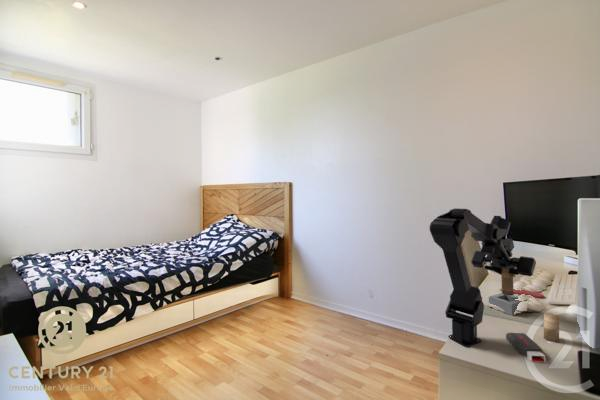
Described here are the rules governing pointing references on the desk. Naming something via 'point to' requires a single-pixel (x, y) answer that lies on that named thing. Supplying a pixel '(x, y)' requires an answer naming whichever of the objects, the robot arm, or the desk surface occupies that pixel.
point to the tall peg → (507, 281)
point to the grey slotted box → (505, 302)
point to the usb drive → (526, 346)
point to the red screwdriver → (528, 293)
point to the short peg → (551, 327)
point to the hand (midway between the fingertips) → (508, 275)
